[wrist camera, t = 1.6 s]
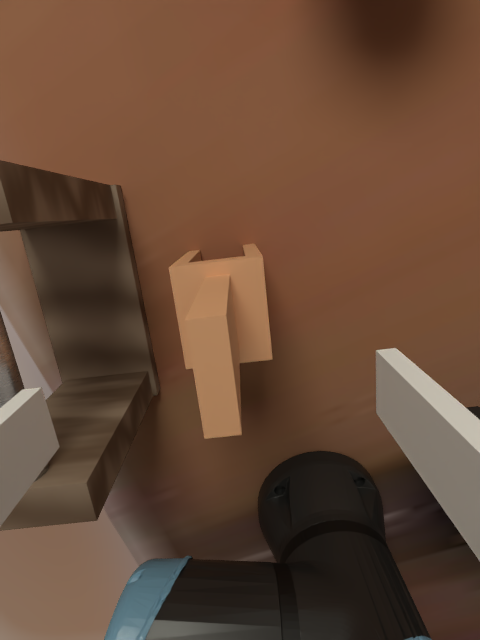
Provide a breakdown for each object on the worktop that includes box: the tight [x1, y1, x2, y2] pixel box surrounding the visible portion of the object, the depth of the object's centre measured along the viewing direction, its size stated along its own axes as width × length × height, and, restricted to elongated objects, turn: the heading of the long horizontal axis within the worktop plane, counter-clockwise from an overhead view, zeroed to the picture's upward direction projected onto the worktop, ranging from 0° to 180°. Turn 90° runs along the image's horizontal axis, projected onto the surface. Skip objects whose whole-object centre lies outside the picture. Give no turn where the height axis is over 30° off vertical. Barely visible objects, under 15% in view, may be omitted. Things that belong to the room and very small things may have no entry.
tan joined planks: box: [169, 244, 273, 439], centre depth 27 cm, size 8×7×23 cm
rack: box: [0, 160, 160, 531], centre depth 30 cm, size 22×10×18 cm, turn 7°
